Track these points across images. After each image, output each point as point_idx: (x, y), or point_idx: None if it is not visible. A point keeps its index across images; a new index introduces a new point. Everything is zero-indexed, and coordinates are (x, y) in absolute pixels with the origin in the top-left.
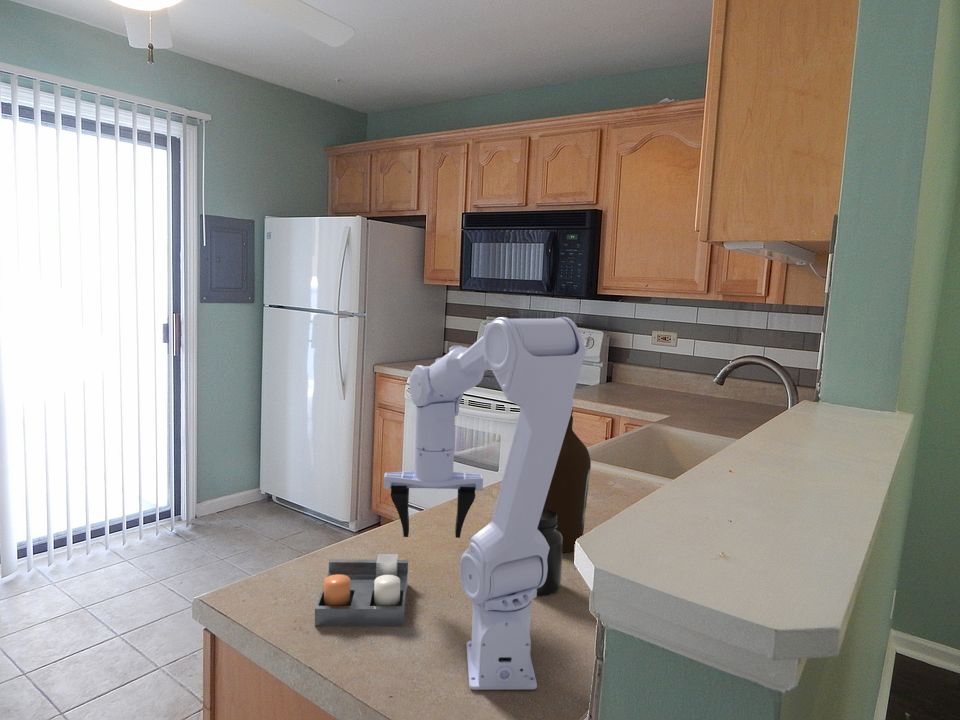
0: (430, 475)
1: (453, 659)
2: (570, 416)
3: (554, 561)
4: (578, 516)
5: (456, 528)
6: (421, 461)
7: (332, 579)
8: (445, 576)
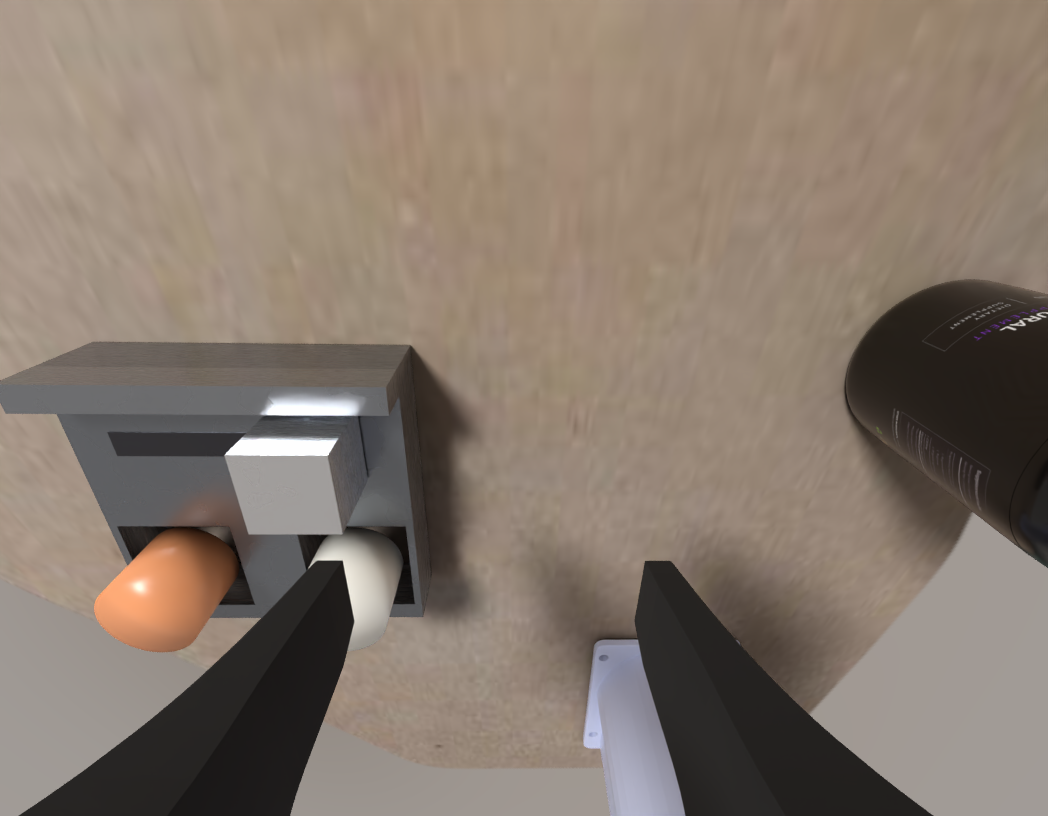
0: None
1: (559, 672)
2: None
3: None
4: None
5: (651, 690)
6: None
7: (126, 614)
8: (567, 272)
